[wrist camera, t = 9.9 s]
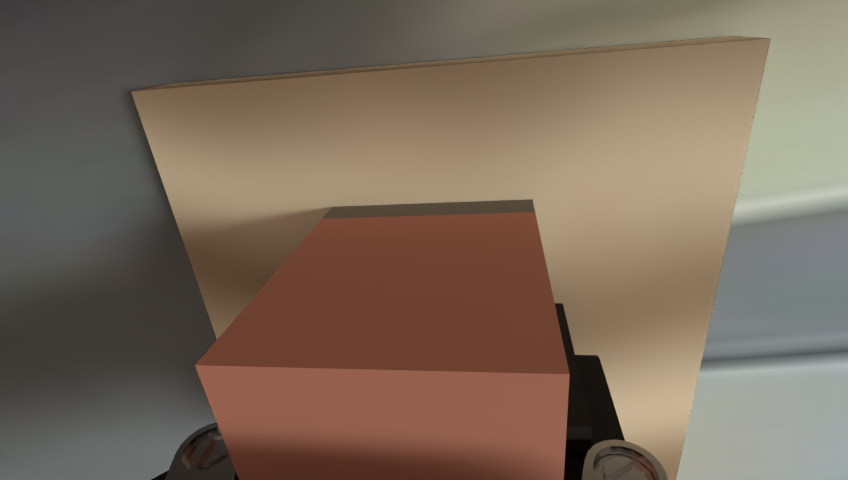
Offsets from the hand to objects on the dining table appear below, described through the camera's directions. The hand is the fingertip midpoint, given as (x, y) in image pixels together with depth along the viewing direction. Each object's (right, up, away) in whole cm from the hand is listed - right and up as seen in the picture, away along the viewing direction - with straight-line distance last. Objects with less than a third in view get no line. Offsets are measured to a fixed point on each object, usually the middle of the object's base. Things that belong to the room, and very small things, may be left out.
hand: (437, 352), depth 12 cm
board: (+1, -3, +4) cm, 5 cm away
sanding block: (0, 0, +1) cm, 1 cm away
